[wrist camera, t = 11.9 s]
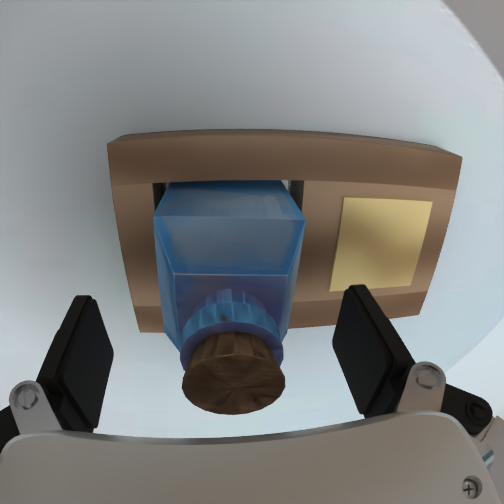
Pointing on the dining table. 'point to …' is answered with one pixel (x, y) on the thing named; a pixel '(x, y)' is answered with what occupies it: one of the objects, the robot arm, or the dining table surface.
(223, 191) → the perfume bottle
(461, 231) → the dining table surface
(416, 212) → the frame
